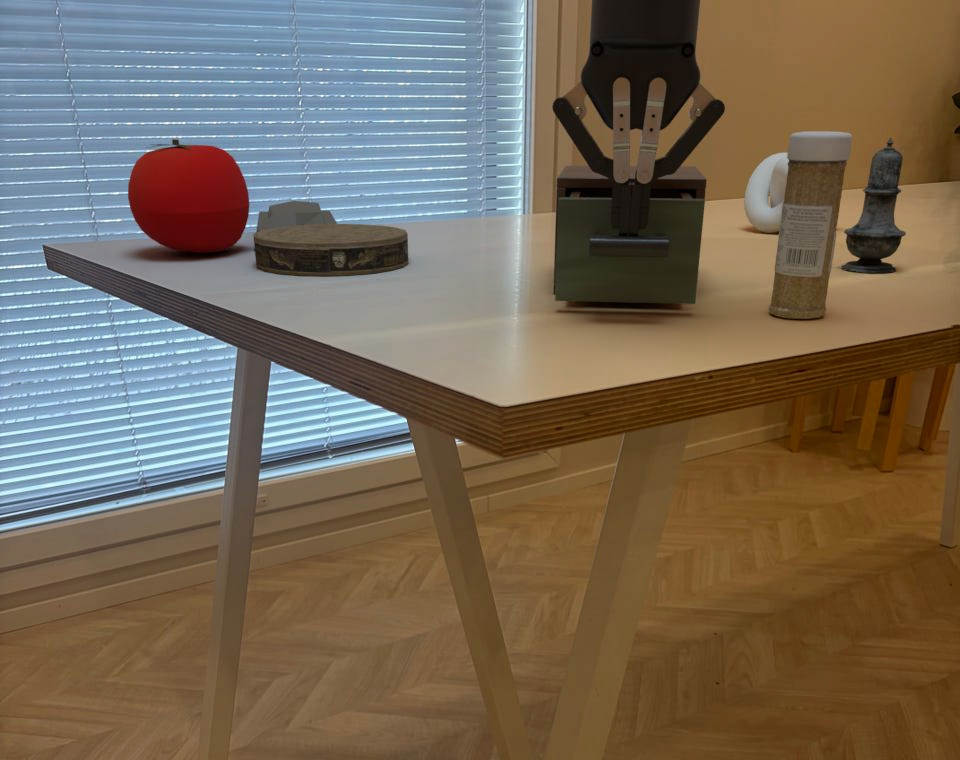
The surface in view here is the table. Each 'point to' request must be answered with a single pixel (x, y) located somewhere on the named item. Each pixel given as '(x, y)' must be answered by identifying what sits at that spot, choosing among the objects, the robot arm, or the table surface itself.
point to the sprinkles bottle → (809, 223)
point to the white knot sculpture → (767, 193)
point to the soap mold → (293, 215)
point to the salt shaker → (877, 216)
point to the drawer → (628, 249)
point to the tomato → (189, 197)
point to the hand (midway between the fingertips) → (628, 235)
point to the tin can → (331, 249)
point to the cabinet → (588, 179)
